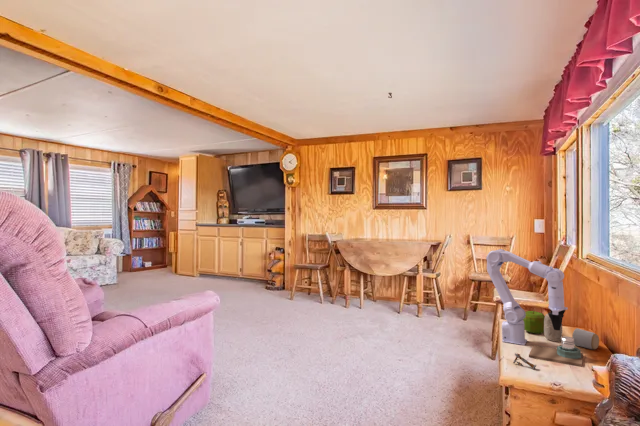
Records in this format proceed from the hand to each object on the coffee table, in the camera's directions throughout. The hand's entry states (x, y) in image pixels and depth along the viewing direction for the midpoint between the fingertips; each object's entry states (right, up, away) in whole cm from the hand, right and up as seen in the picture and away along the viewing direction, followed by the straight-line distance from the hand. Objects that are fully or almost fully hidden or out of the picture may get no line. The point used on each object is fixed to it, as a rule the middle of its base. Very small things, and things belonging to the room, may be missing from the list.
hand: (557, 327), depth 157 cm
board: (-5, -10, -7) cm, 13 cm away
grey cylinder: (+15, -10, +3) cm, 18 cm away
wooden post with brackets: (-24, -11, -16) cm, 30 cm away
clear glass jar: (-1, -9, -8) cm, 12 cm away
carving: (+7, -10, +13) cm, 18 cm away
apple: (+5, -11, +25) cm, 28 cm away
